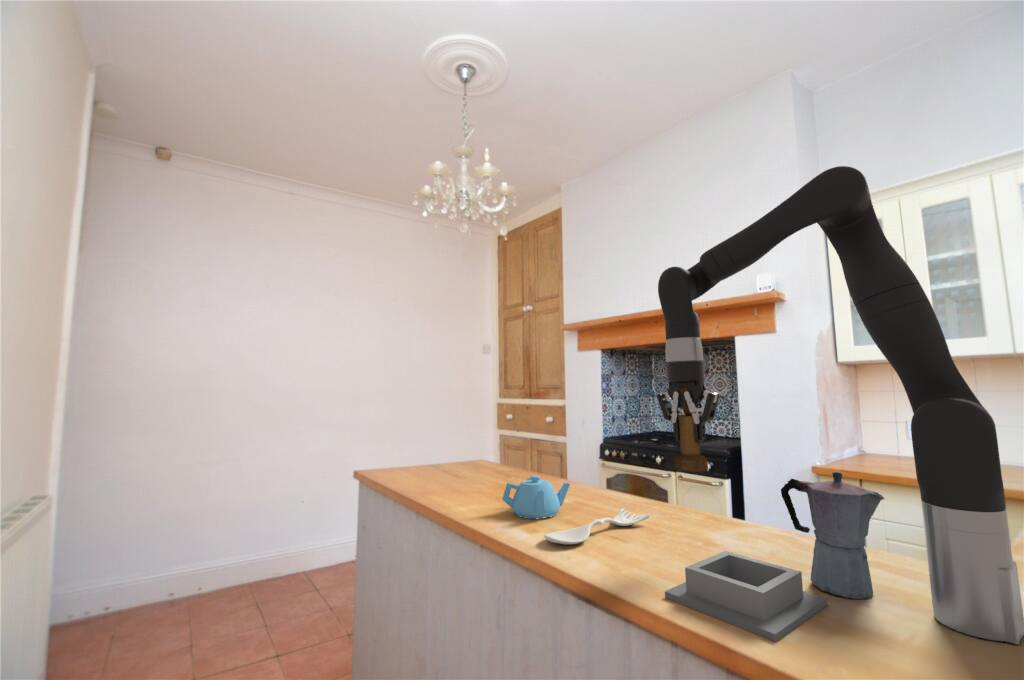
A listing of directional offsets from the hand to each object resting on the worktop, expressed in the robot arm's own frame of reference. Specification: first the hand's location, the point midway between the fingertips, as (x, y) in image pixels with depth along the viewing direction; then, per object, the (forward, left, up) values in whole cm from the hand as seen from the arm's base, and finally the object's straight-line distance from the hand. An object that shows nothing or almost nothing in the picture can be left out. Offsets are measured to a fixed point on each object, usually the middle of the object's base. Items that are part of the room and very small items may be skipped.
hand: (689, 441), depth 98 cm
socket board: (-15, +10, -24) cm, 30 cm away
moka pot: (-23, -7, -24) cm, 34 cm away
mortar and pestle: (0, 0, -6) cm, 6 cm away
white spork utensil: (+26, +2, -25) cm, 36 cm away
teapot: (+50, +1, -25) cm, 56 cm away
